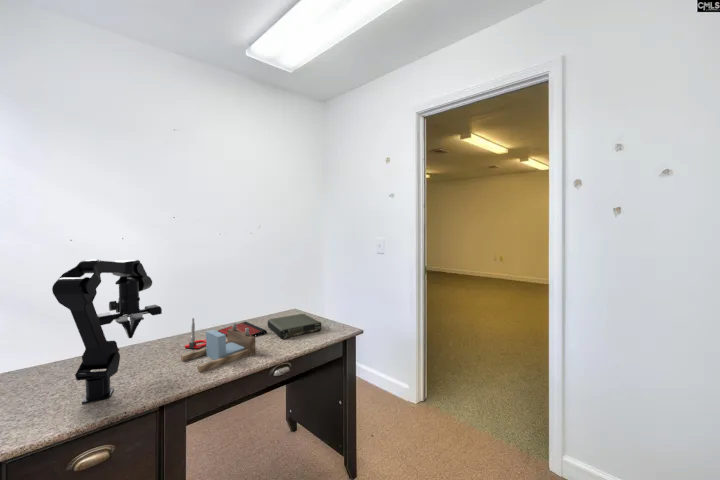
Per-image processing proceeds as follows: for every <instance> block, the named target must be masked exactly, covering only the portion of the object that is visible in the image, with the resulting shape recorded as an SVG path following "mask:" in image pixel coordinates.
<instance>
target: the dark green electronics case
mask: <svg viewBox="0 0 720 480" xmlns="http://www.w3.org/2000/svg"><path fill="white" fill-rule="evenodd" d="M267 328H268V329H269V330H271V332H273V333H274V334H275V335H276V334H277V335H276V336H277V337H278V338H279V339H281V340H285V339H286V338H292V337H293V336H294V337H295V336H299V335H306V334H309V333H313V332H318V331H320V330H321V331H322V322H321V321H319V320H317V319H315V318H313V317H312V316H309V315H308V314H306V313H298V314H291V315H286V316H279V317H274V318H270V319H268V320H267Z"/></svg>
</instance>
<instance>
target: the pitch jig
mask: <svg viewBox="0 0 720 480" xmlns="http://www.w3.org/2000/svg"><path fill="white" fill-rule="evenodd" d="M237 324H238V323H235V322H234V323H232V326H233V328H231V329H227V336H226V344H227V343H231V342H233V343H235V344H238V345H240V346H242V347H245V350H243V351H240V352H237V353H234V354H231V355H228V356H225V357H222V358H219V359H216V360H213V359H212V360H211V361H210V360H209V361H207V362H205V363H201V364H199V365H197V372H199V373H202V372H205V371H208V370H211V369H213V368H216V367H218V366H219V367H221V366H222V365H225V364H228V363H231V362H234V361H236V360H239V359H242V358H244V357H248V356H253V355H256V337H254V336H252V335H249V328H245V333H244V332H241V331H239V330H237ZM205 355H206V347H205V348H204V347H203V348H200V349H196V350H195V351H191V352H188V353H184V354H180V360H181V362H185V361H189V360H192V359H195V358H198V357H203V356H205Z"/></svg>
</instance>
